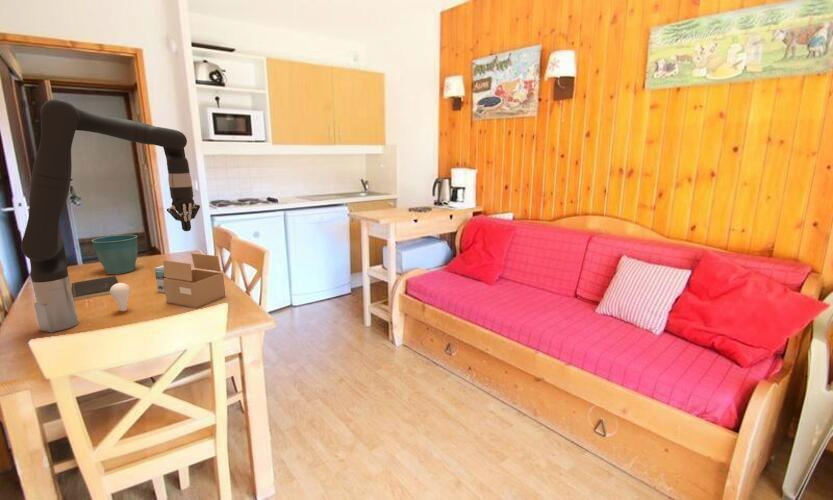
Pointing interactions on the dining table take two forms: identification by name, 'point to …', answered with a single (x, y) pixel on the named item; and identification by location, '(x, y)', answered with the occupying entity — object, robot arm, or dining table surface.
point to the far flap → (206, 262)
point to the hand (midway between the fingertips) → (187, 230)
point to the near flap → (177, 270)
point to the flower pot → (117, 253)
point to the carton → (195, 289)
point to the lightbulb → (120, 295)
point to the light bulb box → (160, 278)
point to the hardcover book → (93, 287)
